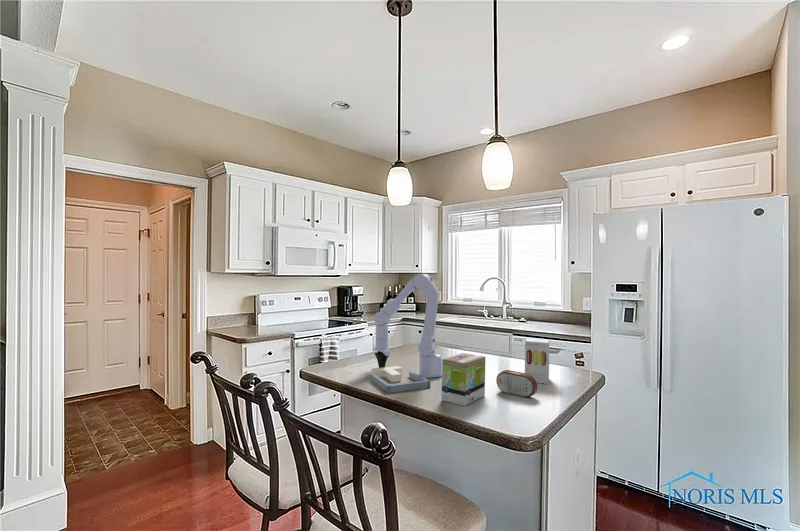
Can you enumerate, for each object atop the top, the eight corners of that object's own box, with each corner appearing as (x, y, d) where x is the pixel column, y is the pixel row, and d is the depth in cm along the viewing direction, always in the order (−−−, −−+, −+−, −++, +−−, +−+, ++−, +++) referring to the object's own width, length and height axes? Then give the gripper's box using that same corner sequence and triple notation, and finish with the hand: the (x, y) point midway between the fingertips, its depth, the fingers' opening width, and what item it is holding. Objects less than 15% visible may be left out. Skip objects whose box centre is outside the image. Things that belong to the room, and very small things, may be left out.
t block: (398, 372, 178) (398, 365, 178) (411, 380, 166) (411, 372, 166) (371, 375, 173) (371, 368, 173) (381, 383, 161) (381, 376, 161)
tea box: (466, 407, 134) (466, 362, 134) (440, 401, 140) (440, 358, 140) (485, 395, 146) (486, 355, 146) (461, 390, 152) (461, 351, 152)
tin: (537, 398, 143) (537, 374, 143) (534, 400, 141) (534, 376, 141) (498, 389, 153) (499, 367, 153) (495, 391, 151) (495, 369, 151)
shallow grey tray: (411, 376, 171) (411, 370, 171) (430, 387, 155) (430, 381, 155) (372, 381, 164) (372, 375, 164) (387, 393, 148) (387, 386, 148)
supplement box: (524, 381, 164) (524, 340, 164) (525, 376, 172) (526, 337, 173) (548, 384, 160) (549, 342, 160) (549, 378, 169) (549, 338, 169)
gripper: (368, 336, 184) (368, 365, 184) (379, 341, 171) (379, 373, 171) (382, 335, 187) (382, 364, 187) (394, 340, 174) (394, 371, 173)
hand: (381, 368), depth 179 cm, fingers closed
